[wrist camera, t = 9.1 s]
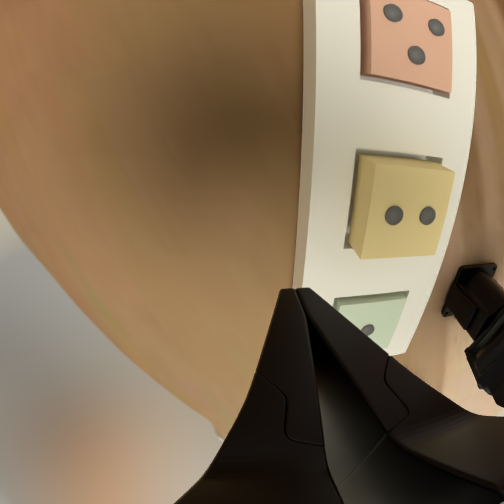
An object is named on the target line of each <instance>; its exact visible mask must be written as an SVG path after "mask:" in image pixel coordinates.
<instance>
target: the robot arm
mask: <svg viewBox="0 0 504 504" xmlns="http://www.w3.org/2000/svg"><path fill="white" fill-rule="evenodd" d="M496 269H497V265H496V264H495V263H490V264H481V265H472V266H463V267H461V268H460V269H459V271H458V274H457V276H456V279H455V282H454V284H453V287H452V289H451V291H450V294H449V296H448V299H447V301H446V303H445V306H444V308H443V310H442V315H443V316H444V317H447V316H451V315H454V317H455V318H456V319H457V321H458V322H459V323H460V325H461V326H462V328H463V329H464V330H466V331H467V332H468V334H469V335H470V336H471V338H472V339H473V341H474V342H473V343H472V344H471V345H470V346H469V347H467V348H466V349H465V350H464V352H465V354H466V356H467V357H466V358H467V360H468V362H469V365H470V367H471V369H472V372H473V374H474V376H475V379H476V381H477V385H478V388H479V389H484V390H485V392H487V393H488V394H489V395H492V396H493V398H494V400H495V402H496V404H497V405H499V406H501V407H503V408H504V289H503V288H502V287H501V286H500V285H499V284H498V282H497V281H496V280H495V279H494V278H493V276H494V273H495V271H496ZM174 504H504V417H496V416H482V415H477V414H474V413H471V412H469V411H467V410H465V409H464V408H462V407H460V406H459V405H457V404H456V403H454V402H453V401H451V400H450V399H448V398H447V397H446V396H444V395H443V394H441V393H440V392H438V391H437V390H435V389H434V388H432V387H431V386H429V385H428V384H427V383H425V382H424V381H422V380H421V379H420V378H418V377H417V376H415V375H414V374H413V373H412V372H410V371H409V370H408V369H407V368H405V367H404V366H403V365H402V364H400V363H399V362H398V361H397V360H396V359H394V358H393V357H392V356H389V354H388V353H387V352H386V351H385V350H384V349H382V348H381V347H380V346H379V345H378V344H377V343H375V342H374V341H373V340H372V339H371V338H369V337H368V336H367V335H366V334H365V333H363V332H362V331H361V330H360V329H359V328H358V327H356V326H355V325H354V324H353V323H352V322H350V321H349V320H348V319H347V318H346V317H344V316H343V315H342V314H341V313H340V312H338V311H337V310H336V309H335V308H334V307H333V306H331V305H330V304H329V303H328V302H327V301H325V300H324V299H323V298H322V297H321V296H319V295H318V294H317V293H316V292H315V291H313V290H312V289H311V288H309V287H304V288H296V289H293V288H288V289H281V290H280V292H279V295H278V299H277V302H276V306H275V309H274V313H273V316H272V319H271V323H270V326H269V329H268V333H267V336H266V339H265V342H264V346H263V349H262V352H261V355H260V359H259V362H258V365H257V368H256V372H255V374H254V377H253V380H252V383H251V386H250V389H249V392H248V394H247V397H246V400H245V402H244V404H243V406H242V408H241V410H240V412H239V414H238V417H237V419H236V420H235V422H234V424H233V426H232V428H231V430H230V431H229V433H228V435H227V437H226V439H225V440H224V442H223V444H222V446H221V448H220V450H219V451H218V453H217V455H216V456H215V458H214V460H213V461H212V463H211V464H210V466H209V467H208V469H207V470H206V471H205V473H204V474H203V475H202V477H201V478H200V479H199V480H198V481H197V482H196V483H195V484H194V485H193V486H192V487H191V488H190V489H189V490H188V491H187V492H186V493H185V494H184V495H183V496H182V497H180V498H179V499H178V500H177V501H176V502H175V503H174Z"/></svg>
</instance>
